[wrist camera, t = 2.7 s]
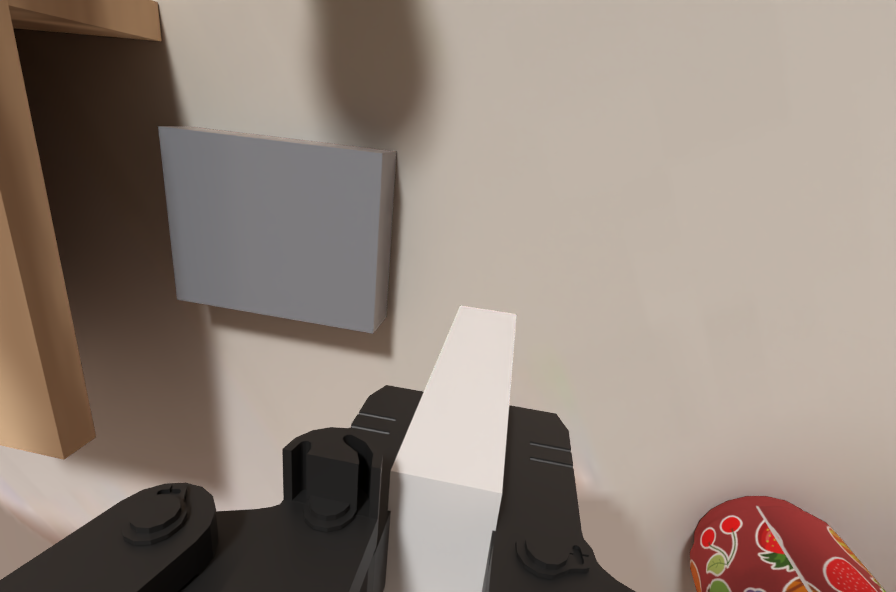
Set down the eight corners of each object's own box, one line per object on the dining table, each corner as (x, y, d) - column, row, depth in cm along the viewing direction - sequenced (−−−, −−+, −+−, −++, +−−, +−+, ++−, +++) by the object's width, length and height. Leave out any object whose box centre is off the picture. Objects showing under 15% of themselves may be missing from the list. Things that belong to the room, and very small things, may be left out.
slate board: (399, 150, 21) (382, 153, 19) (389, 313, 24) (373, 333, 21) (197, 126, 22) (158, 126, 20) (209, 283, 25) (177, 299, 23)
